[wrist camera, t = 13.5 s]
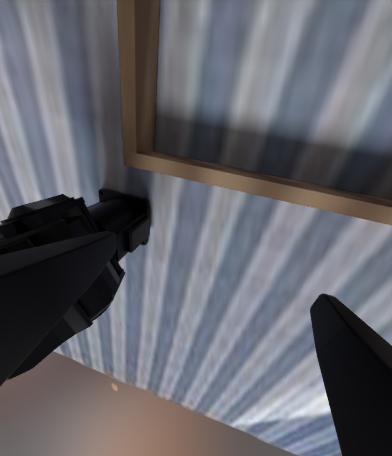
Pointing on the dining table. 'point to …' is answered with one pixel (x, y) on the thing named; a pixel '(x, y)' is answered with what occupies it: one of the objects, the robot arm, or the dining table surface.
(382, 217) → the open wooden frame
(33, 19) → the dining table surface
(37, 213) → the robot arm
